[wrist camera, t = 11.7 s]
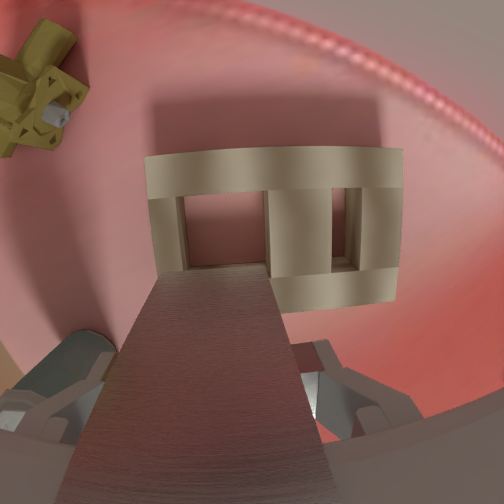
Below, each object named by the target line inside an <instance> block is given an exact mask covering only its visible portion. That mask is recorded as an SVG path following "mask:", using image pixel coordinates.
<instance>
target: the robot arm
mask: <svg viewBox="0 0 504 504" xmlns="http://www.w3.org/2000/svg"><path fill="white" fill-rule="evenodd" d="M291 348H292V351H293V354H294V357H295V360H296V363H297V366H298V369H299V372H300V375H301V378H302V382H303V385H304V388H305V391H306V394H307V397H308V400H309V403H310V407H311V410H312V413H313V416H314V418H316V420H317V421H318V422H320V423H321V424H322V425H323V426H324V427H326V428H327V429H328V430H329V431H331V432H332V433H333V434H334V435H336V436H337V437H338V438H339V439H341V440H340V441H335V442H329V443H324V444H323V447H324V450H325V454H326V457H327V460H328V463H329V466H330V469H331V473H332V476H333V479H334V482H335V485H336V489H337V492H338V495H339V498H340V501H341V504H504V387H503V388H501V389H499V390H497V391H495V392H492V393H490V394H488V395H486V396H483V397H481V398H479V399H476V400H474V401H471V402H469V403H466V404H464V405H461V406H459V407H456V408H453V409H451V410H448V411H445V412H442V413H439V414H437V415H434V416H431V417H428V418H425V419H424V417H423V416H422V414H421V413H420V411H419V410H418V408H417V407H416V405H415V404H414V402H413V401H412V399H411V398H410V396H409V395H406V394H404V393H402V392H400V391H397V390H395V389H393V388H391V387H388V386H386V385H384V384H382V383H380V382H378V381H375V380H373V379H371V378H369V377H367V376H365V375H363V374H360V373H358V372H356V371H354V370H352V369H350V368H348V367H346V368H343V367H342V365H341V363H340V361H339V359H338V357H337V356H336V354H335V352H334V350H333V348H332V346H331V344H330V342H329V340H327V339H324V340H318V341H312V342H306V343H298V344H291ZM118 354H119V352H102V353H100V355H99V357H98V358H97V360H96V362H95V364H94V365H93V367H92V369H91V371H90V372H89V374H88V376H87V378H86V380H80V381H78V382H77V383H75V384H73V385H72V386H70V387H68V388H66V389H64V390H63V391H61V392H59V393H57V394H56V395H54V396H52V397H50V398H49V399H47V400H45V401H43V402H41V403H40V404H38V405H36V406H34V407H33V408H31V409H29V410H27V411H26V413H25V415H24V416H23V418H22V419H21V421H20V423H19V424H18V426H17V427H16V429H15V431H14V432H11V431H8V430H4V429H1V428H0V504H54V502H55V499H56V496H57V494H58V491H59V488H60V486H61V483H62V480H63V478H64V475H65V473H66V470H67V468H68V465H69V463H70V460H71V458H72V455H73V453H74V451H75V448H76V446H77V443H78V441H79V439H80V436H81V434H82V432H83V429H84V427H85V425H86V423H87V420H88V418H89V416H90V414H91V411H92V409H93V407H94V405H95V402H96V400H97V398H98V396H99V394H100V392H101V389H102V387H103V385H104V383H105V381H106V379H107V377H108V375H109V373H110V370H111V368H112V366H113V364H114V362H115V360H116V358H117V356H118Z"/></svg>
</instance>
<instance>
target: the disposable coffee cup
mask: <svg viewBox="0 0 504 504" xmlns="http://www.w3.org/2000/svg"><path fill="white" fill-rule="evenodd" d="M102 352H116V350H115V347H114V345H113V344H112V343H110V342H109V341H108V340H107V339H106V338H105V337H104V336H103V335H101V334H98V333H96V332H93V331H91V330H83V331H76V332H73V333H71V334H70V335H69V336H68V337H67V338H66V339H65V340H64V341H62V342H61V343H60V344H59V345H58V346H57V347H56V348H55V349H54V350H52V351H51V352H50V353H49V354H48V355H47V356H46V357H45V358H44V359H43V360H42V361H40V362H39V363H38V364H37V365H36V366H35V367H34V368H33V369H32V370H31V371H30V372H29V373H28V374H26V375H25V376H24V377H23V378H22V379H21V380H20V381H19V382H18V383H17V384H16V385H15V386H14V387H13V388H12V389H6V390H5V392H4V393H3V394H2V395H1V397H0V428H1V429H4V430H8V431H11V432H14V431H15V429H16V427H17V426H18V424H19V423H20V421H21V419H22V418H23V416H24V415H25V413H26V411H27V410H29V409H31V408H33V407H34V406H36V405H38V404H40V403H41V402H43V401H45V400H47V399H49V398H50V397H52V396H54V395H56V394H57V393H59V392H61V391H63V390H64V389H66V388H68V387H70V386H72V385H73V384H75V383H77V382H78V381H80V380H86V378H87V376H88V374H89V372H90V371H91V369H92V367H93V365H94V364H95V362H96V360H97V358H98V357H99V355H100V353H102Z"/></svg>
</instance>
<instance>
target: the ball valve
mask: <svg viewBox="0 0 504 504" xmlns="http://www.w3.org/2000/svg"><path fill="white" fill-rule="evenodd" d="M77 40H78V38H77V37H76V36H75V35H74V34H73V33H72V32H70V31H69V30H67V29H66V28H64V27H62V26H61V25H59V24H57V23H55V22H52V21H50V20H48V19H40V21H39V22H38V23H37V25H36V26H35V28H34V29H33V31H32V32H31V34H30V35H29V37H28V39H27V40H26V42H25V43H24V45H23V47H22V48H21V50H20V51H19V53H18V55H17V56H16V58H15V60H12V59H10V58H8V57H5V56H3V55H1V54H0V158H7V157H11V156H12V154H13V151H14V149H15V147H16V145H17V143H18V144H23V145H28V146H32V147H37V148H42V149H47V150H51V151H53V150H54V149H55V148H56V147H57V146H58V145H59V143H60V142H61V141H62V134H63V127H64V125H65V124H66V123H67V122H68V121H69V119H70V114H71V112H73V111H74V110H75V109H76V108H77V107H78V106H79V105H80V104H81V103H82V102H83V100H84V98H85V97H86V95H87V93H88V91H89V89H90V88H88V87H87V86H86V85H84V84H83V83H81V82H79V81H78V80H76V79H74V78H73V77H71V76H69V75H68V74H66V73H65V72H63V71H61V70H60V69H58V67H59V65H60V64H61V62H62V61H63V59H64V58H65V56H66V55H67V54H68V52H69V51H70V49H71V48H72V46H73V45H74V44H75V42H76V41H77ZM50 78H51V80H50ZM75 94H76V95H75Z"/></svg>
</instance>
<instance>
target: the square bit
mask: <svg viewBox="0 0 504 504" xmlns="http://www.w3.org/2000/svg"><path fill="white" fill-rule="evenodd" d="M54 504H341V501H340V498H339V495H338V492H337V489H336V485H335V482H334V479H333V476H332V473H331V469H330V466H329V463H328V460H327V457H326V454H325V450H324V447H323V444H322V441H321V438H320V435H319V432H318V428H317V425H316V422H315V419H314V416H313V413H312V410H311V407H310V403H309V400H308V397H307V394H306V391H305V388H304V385H303V382H302V378H301V375H300V372H299V369H298V366H297V363H296V360H295V357H294V354H293V351H292V348H291V344H290V341H289V338H288V335H287V332H286V329H285V326H284V323H283V320H282V317H281V314H280V311H279V308H278V305H277V301H276V298H275V295H274V292H273V289H272V286H271V283H270V280H269V277H268V274H267V271H266V268H265V265H255V266H242V267H228V268H214V269H199V270H185V271H170V272H161V274H160V276H159V277H158V279H157V281H156V283H155V285H154V287H153V288H152V290H151V292H150V294H149V296H148V298H147V300H146V301H145V303H144V305H143V307H142V309H141V311H140V313H139V315H138V317H137V319H136V320H135V322H134V324H133V326H132V328H131V330H130V332H129V334H128V336H127V338H126V340H125V342H124V344H123V346H122V348H121V350H120V352H119V354H118V356H117V358H116V360H115V362H114V364H113V366H112V368H111V370H110V373H109V375H108V377H107V379H106V381H105V383H104V385H103V387H102V389H101V392H100V394H99V396H98V398H97V400H96V402H95V405H94V407H93V409H92V411H91V414H90V416H89V418H88V420H87V423H86V425H85V427H84V429H83V432H82V434H81V436H80V439H79V441H78V443H77V446H76V448H75V451H74V453H73V455H72V458H71V460H70V463H69V465H68V468H67V470H66V473H65V475H64V478H63V480H62V483H61V486H60V488H59V491H58V494H57V496H56V499H55V502H54Z"/></svg>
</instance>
